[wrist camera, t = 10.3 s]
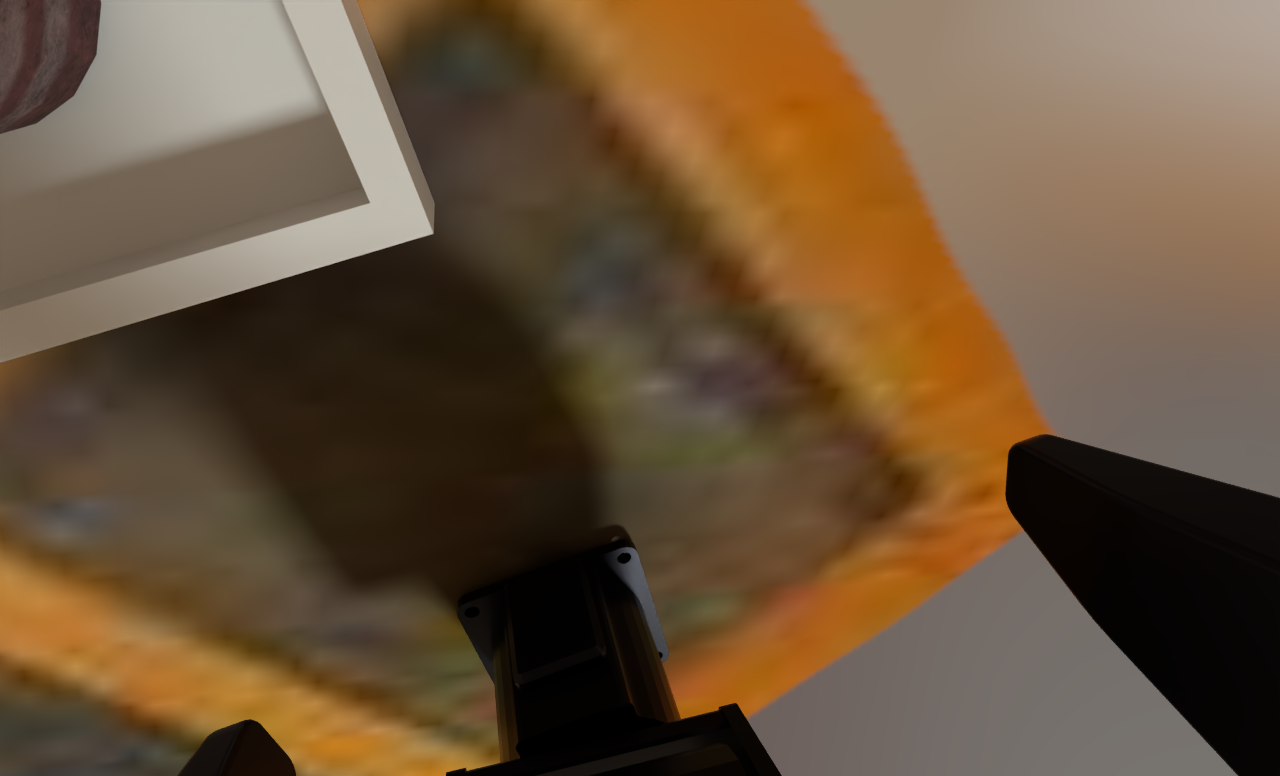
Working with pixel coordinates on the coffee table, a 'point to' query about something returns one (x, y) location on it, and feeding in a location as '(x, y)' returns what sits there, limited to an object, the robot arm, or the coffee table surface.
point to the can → (43, 56)
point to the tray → (201, 166)
